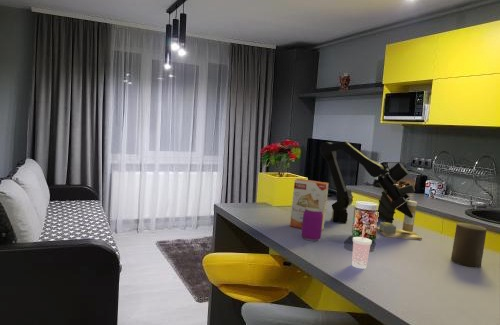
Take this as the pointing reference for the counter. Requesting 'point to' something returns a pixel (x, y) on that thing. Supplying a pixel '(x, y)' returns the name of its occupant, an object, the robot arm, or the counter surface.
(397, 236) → the plywood board
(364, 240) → the beverage cup
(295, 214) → the cracker box
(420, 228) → the counter surface
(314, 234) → the beverage can
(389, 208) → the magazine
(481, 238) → the pillar candle
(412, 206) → the sprinkles bottle
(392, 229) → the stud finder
